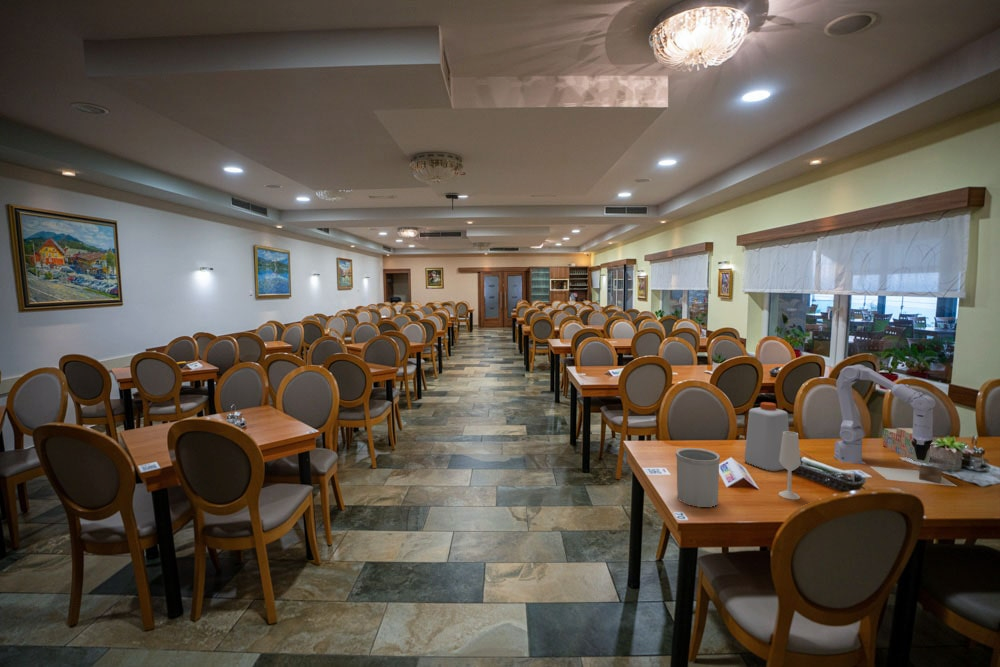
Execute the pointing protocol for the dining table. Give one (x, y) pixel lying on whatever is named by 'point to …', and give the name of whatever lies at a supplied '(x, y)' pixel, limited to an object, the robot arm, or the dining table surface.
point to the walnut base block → (930, 474)
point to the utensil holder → (697, 476)
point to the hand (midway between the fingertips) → (921, 458)
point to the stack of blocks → (899, 441)
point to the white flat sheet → (906, 475)
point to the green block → (922, 460)
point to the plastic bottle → (765, 436)
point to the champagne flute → (789, 459)
